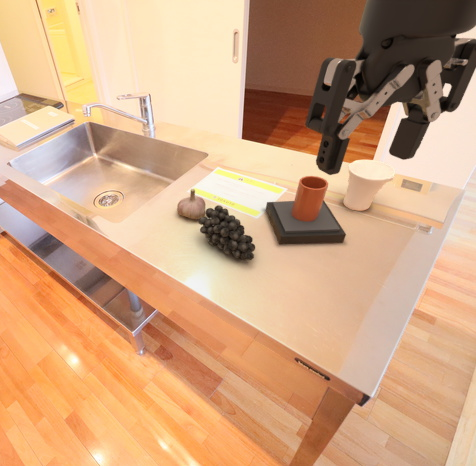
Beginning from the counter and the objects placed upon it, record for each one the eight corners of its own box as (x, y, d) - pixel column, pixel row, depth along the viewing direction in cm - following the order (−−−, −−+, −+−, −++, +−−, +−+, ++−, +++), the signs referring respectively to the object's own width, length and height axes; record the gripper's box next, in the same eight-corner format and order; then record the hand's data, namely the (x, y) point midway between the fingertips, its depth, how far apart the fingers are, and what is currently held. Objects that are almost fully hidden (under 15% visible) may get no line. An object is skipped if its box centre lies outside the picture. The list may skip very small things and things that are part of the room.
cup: (362, 220, 73) (379, 183, 67) (327, 201, 80) (339, 165, 74) (389, 207, 75) (408, 170, 69) (353, 189, 82) (367, 154, 76)
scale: (322, 207, 79) (325, 196, 77) (344, 242, 69) (349, 231, 67) (265, 209, 81) (267, 199, 79) (279, 244, 71) (281, 234, 69)
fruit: (266, 231, 61) (218, 194, 72) (231, 256, 61) (188, 215, 72) (270, 255, 68) (225, 217, 78) (238, 278, 67) (197, 237, 78)
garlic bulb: (209, 220, 80) (211, 194, 75) (181, 225, 80) (180, 199, 75) (200, 203, 86) (201, 178, 81) (174, 208, 86) (173, 183, 81)
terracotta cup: (312, 206, 74) (322, 175, 69) (321, 221, 70) (332, 188, 65) (288, 207, 75) (296, 176, 70) (295, 222, 71) (304, 190, 66)
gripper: (401, -39, 19) (329, 194, 29) (585, -62, 21) (461, 165, 31) (315, -26, 25) (279, 163, 35) (464, -45, 27) (391, 140, 37)
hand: (364, 164), depth 33 cm, fingers open, 8 cm apart
